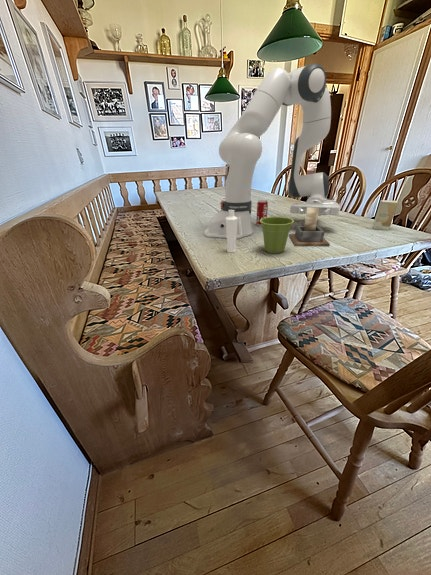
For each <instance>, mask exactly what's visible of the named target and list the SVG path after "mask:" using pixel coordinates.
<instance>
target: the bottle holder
mask: <svg viewBox="0 0 431 575" xmlns="http://www.w3.org/2000/svg"><path fill="white" fill-rule="evenodd" d="M288 238H289V239H290V241H291V242H292V244H293V246H294V247H330V242H329V241H328V240H327V239H326V238H325V231H324V230H323V229H322V227H320V226H319V225H316V229H315V231H304V225H296V226H295V231H294V233H289V234H288Z"/></svg>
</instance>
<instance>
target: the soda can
mask: <svg viewBox="0 0 431 575" xmlns="http://www.w3.org/2000/svg"><path fill="white" fill-rule="evenodd" d="M268 209H269V202H268V199H258V201H257V203H256V221H255V222H256V223H255V224H256V225H257V226H260V227H262V224H261V222H260V220H261V219H263V218H267V217H268Z"/></svg>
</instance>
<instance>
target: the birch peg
mask: <svg viewBox="0 0 431 575" xmlns="http://www.w3.org/2000/svg"><path fill="white" fill-rule="evenodd" d="M318 212H319V208H316V207H308V208H307V211H306V214H305V218H304V224H303V226H304V231H315V229H316V226H317V222H318V217H319V216H318Z"/></svg>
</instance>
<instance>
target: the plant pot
mask: <svg viewBox="0 0 431 575" xmlns="http://www.w3.org/2000/svg"><path fill="white" fill-rule="evenodd" d="M260 222H261V224H262V226H261V229H262V235H263V236H262V237H263V244H264V245H263V246H264V251H265V252H268V253H271V254H280V253H281V252H282V253H283V252H284V251H285V249H286V246H287V242H288V238H289V234H290V230H291V228H292V225H293V224H294V222H295V220H294V219H293V218H290V217H285V216H267V218H263V219H261V220H260Z"/></svg>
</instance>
